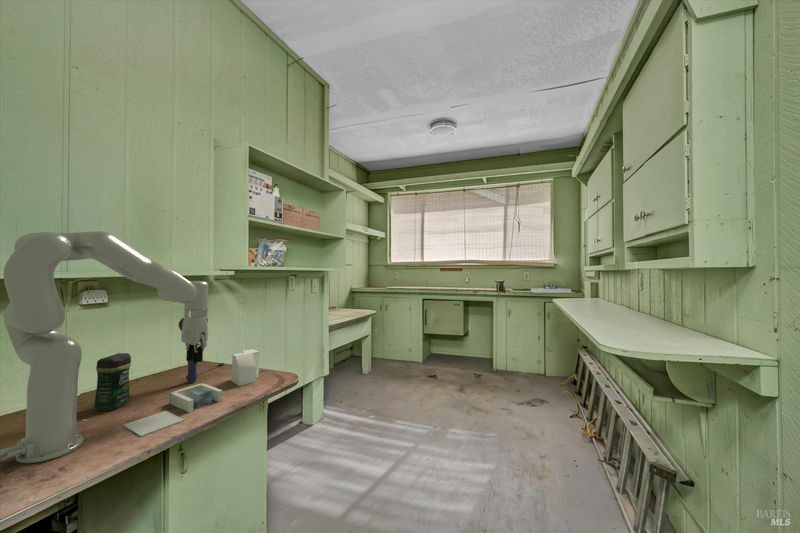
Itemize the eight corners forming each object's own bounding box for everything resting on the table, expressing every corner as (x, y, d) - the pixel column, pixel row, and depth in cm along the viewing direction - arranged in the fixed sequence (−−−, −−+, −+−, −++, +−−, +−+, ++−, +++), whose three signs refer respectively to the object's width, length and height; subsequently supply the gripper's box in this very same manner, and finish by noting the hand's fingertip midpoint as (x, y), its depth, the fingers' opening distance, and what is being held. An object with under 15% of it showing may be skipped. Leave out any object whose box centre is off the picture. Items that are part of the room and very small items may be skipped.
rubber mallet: (193, 387, 135) (196, 316, 135) (174, 387, 134) (177, 316, 134) (207, 377, 148) (209, 312, 148) (190, 377, 147) (192, 311, 147)
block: (197, 408, 116) (198, 394, 116) (190, 405, 119) (190, 391, 119) (211, 403, 121) (211, 390, 121) (203, 400, 123) (204, 387, 123)
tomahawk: (196, 381, 144) (197, 379, 144) (185, 378, 146) (185, 376, 146) (231, 367, 165) (232, 365, 165) (221, 364, 166) (221, 362, 166)
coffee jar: (113, 412, 111) (115, 358, 111) (89, 412, 110) (90, 358, 111) (134, 400, 121) (136, 351, 121) (112, 400, 120) (113, 351, 120)
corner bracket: (251, 373, 154) (252, 349, 154) (263, 380, 146) (263, 353, 146) (228, 379, 146) (229, 353, 146) (239, 386, 138) (239, 358, 138)
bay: (188, 412, 113) (189, 401, 113) (169, 403, 119) (169, 392, 119) (222, 400, 123) (222, 390, 123) (202, 392, 130) (202, 383, 130)
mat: (141, 436, 96) (141, 435, 96) (123, 426, 102) (123, 424, 102) (184, 420, 107) (184, 419, 107) (165, 411, 113) (165, 410, 113)
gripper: (173, 312, 123) (172, 359, 123) (197, 316, 115) (196, 367, 115) (194, 310, 130) (192, 355, 130) (218, 314, 121) (216, 362, 121)
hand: (194, 360), depth 122 cm, fingers open, 3 cm apart
